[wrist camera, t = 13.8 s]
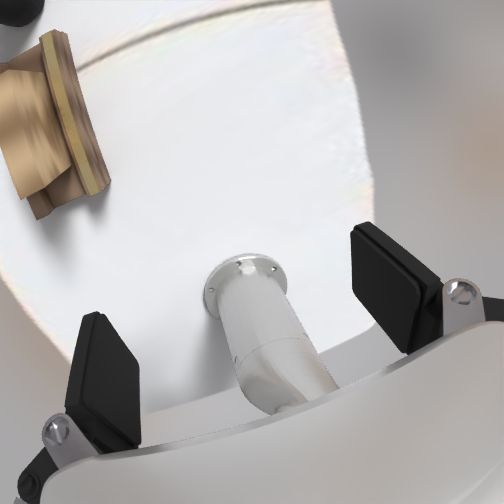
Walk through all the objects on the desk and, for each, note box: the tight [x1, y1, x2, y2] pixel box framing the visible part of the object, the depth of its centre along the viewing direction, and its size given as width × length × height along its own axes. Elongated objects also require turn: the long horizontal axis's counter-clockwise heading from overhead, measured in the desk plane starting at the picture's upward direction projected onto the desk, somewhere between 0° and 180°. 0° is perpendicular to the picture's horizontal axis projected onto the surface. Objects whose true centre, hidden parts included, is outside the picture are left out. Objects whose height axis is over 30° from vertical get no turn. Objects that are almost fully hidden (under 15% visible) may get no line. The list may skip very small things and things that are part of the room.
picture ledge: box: [0, 29, 111, 220], centre depth 26 cm, size 20×10×4 cm, turn 13°
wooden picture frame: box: [0, 69, 72, 200], centre depth 22 cm, size 12×3×9 cm, turn 13°
